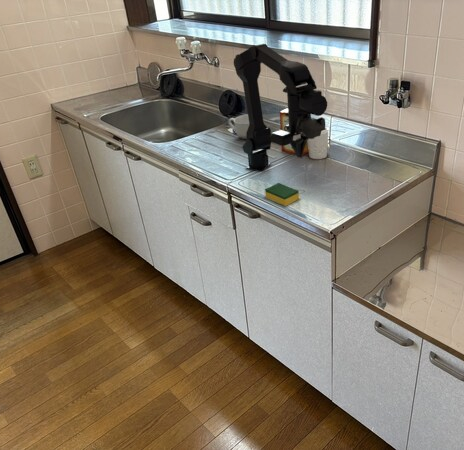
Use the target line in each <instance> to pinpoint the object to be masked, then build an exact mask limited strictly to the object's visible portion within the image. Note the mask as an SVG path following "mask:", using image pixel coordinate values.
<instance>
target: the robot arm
mask: <svg viewBox="0 0 464 450" xmlns="http://www.w3.org/2000/svg"><path fill="white" fill-rule="evenodd" d="M261 64H263V65H264V66H266V67H267V68H269V69H270V70H271V71H273V72H274V73H276V74H277V75H278V76H279V80H280V82H281V83H282V84H283V85H284V86H285V87H284V88H283V89H282V92H283V93H285V94H286V96H287V108H288V112H285V115H286V116H288V118H289V125H286V129H289V131H288V132H286V131H282V130H281V129H278V130H275V131H274V132H272V129H271V128H270V127H268V126H267V125H266V123H265V122H264V121H265V120H264V114H263V109H262V102H261V94H260V89H259V80H258V79H259V77H260V75H261V71H262V65H261ZM233 66H234V70H235V73H236V75H237V77H238V78H239V79H240V80H241V82H242V86H243V93H244V99H245V104H246V111H247V114H248V118H249V127H248V130H247V132H246V137H247V139H245V142H244V143H243V145H242V151H243V153H244V154H246V155H247V161H248V165H247V166H246V169H247V170H252V171H258V172H262V171H264V170H265V169H266V168H268V167H269V166H271V163H270V162H269V155H268V151H269V150H271V146H272V143H273V144H276V145H279V146H281V147H282V146H285V145H288V144H290V145H291V146H292V148H293V150H294V151H295V153H296V154H295V155H296V158H299V159H301V158H302V157H303V155H302V154H303V151H304V148H305V145H306V142H307V140H308V139H314V138H315V137H317V136H320V135H321V131H323V130H325V128H326V118H324V117H323V116H322V115H324V114H325V113H326V111H327V108H328V101H327V99H326V97H325V96H324V95H323V94H322V91H321V90H317V88H318V87H317V84H316V81H315V79H314V78H313V75H312V73H311V72H310V70H309V67H308V66H307V65H306V64H305V63H302V62H299V61H293V60H289V59H287V58H285V56H283V55H281V54H279V53H278V52H276V51H275V50H273V49H272V48H270V47H269V46H268V45H267V44H266V43H264V42H262V43H257V44H253V45H251V46H250V47H249V48H248V49H246V50H244V51H243V52H241V53H238V54H236V55H235V57H234V58H233ZM312 115H313V116H316V117H318V118H316V117H315V118H314V117H312ZM319 116H320V117H319Z"/></svg>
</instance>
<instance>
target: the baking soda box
mask: <svg viewBox="0 0 464 450" xmlns="http://www.w3.org/2000/svg"><path fill="white" fill-rule="evenodd" d="M285 112H288V107H287V108H285V109H283V110H282V109H281V111H279V123H280V130H282V131H286V132H288V131H289V129H286V125H289V118H288V116H286V115H285ZM281 152H284V153H289V154H293V155H296V153H295V151H294V150H293V148H292V146H291V145H290V144H288V145H285V146H281ZM306 154H309V149H308V141H307V142H306V145H305V148H304V151H303V154H302V156H305V155H306Z"/></svg>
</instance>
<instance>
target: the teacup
mask: <svg viewBox="0 0 464 450" xmlns="http://www.w3.org/2000/svg"><path fill="white" fill-rule="evenodd" d="M232 121H233V123H234V124H233V123H232ZM227 122H228V126H229V127H230V128H232V129H233V130H234V131H235V133H236V135H237V136H238V137H240V138H241V139H243V140H247V137H246V132H247V130H248V127H249V118H248V113H247V114H242V115H238V116H236V117H230V118H229V119H228V121H227Z"/></svg>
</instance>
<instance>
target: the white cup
mask: <svg viewBox="0 0 464 450" xmlns="http://www.w3.org/2000/svg"><path fill="white" fill-rule="evenodd" d="M307 141H308V149H309V152H308V156H309V158H311V159H313V160H321V159H322V160H323V159H325V158H327V157H328V146H329V129H328V128H327V127H325V130H323V131H321V135H320V136H317V137H315V138H314V139H308V140H307Z"/></svg>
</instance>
